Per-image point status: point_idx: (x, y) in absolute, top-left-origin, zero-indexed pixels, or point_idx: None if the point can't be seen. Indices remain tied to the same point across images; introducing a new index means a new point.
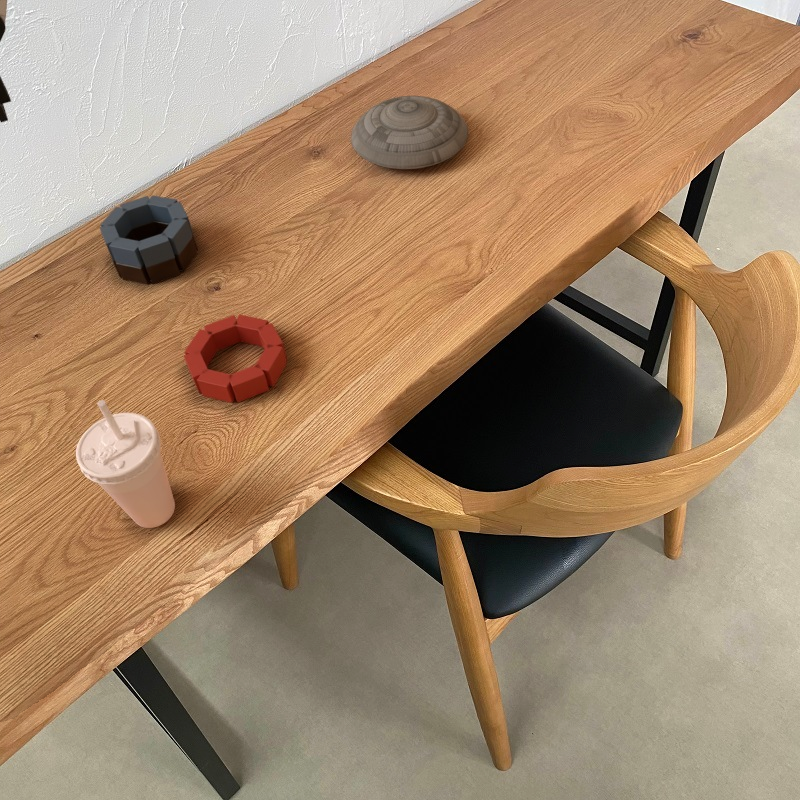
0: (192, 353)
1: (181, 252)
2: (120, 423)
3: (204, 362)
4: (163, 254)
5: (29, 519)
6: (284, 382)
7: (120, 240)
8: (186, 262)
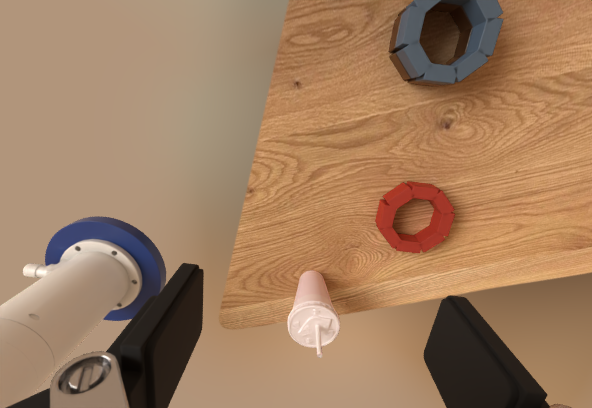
0: (391, 207)
1: None
2: (322, 315)
3: (393, 220)
4: (438, 83)
5: (247, 247)
6: None
7: (417, 48)
8: None
